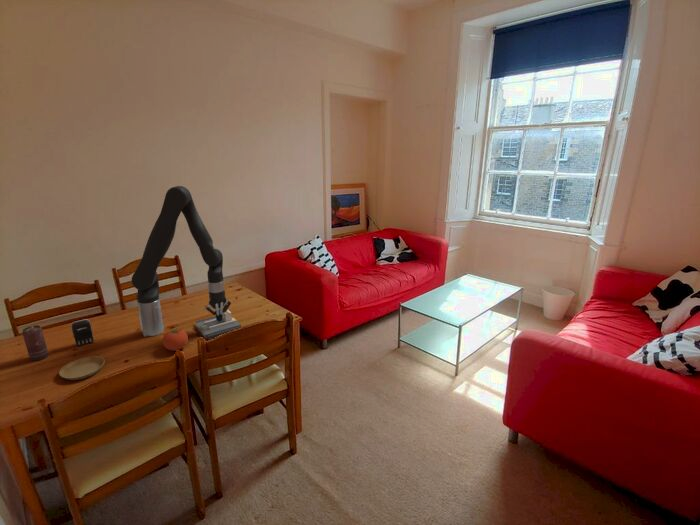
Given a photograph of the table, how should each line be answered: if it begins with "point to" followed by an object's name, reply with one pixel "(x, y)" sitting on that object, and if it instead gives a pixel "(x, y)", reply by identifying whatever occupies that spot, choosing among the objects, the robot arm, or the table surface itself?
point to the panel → (215, 326)
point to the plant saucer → (82, 368)
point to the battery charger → (82, 332)
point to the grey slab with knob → (217, 332)
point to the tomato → (175, 339)
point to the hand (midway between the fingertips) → (219, 320)
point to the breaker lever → (227, 316)
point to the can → (35, 343)
